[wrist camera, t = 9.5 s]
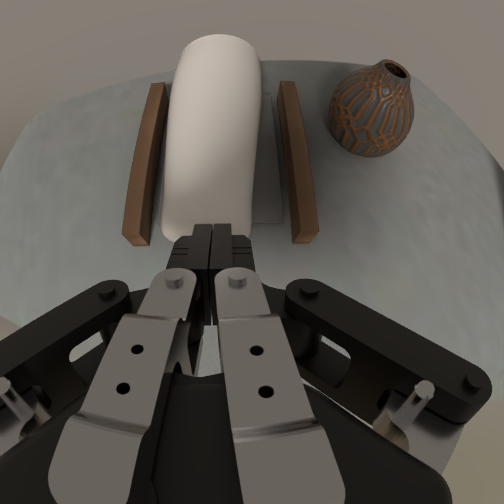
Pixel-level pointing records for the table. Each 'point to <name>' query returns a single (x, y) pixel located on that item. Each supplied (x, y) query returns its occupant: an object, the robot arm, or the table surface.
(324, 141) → the table surface
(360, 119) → the vase
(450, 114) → the table surface
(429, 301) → the table surface
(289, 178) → the cradle
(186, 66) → the white cup
